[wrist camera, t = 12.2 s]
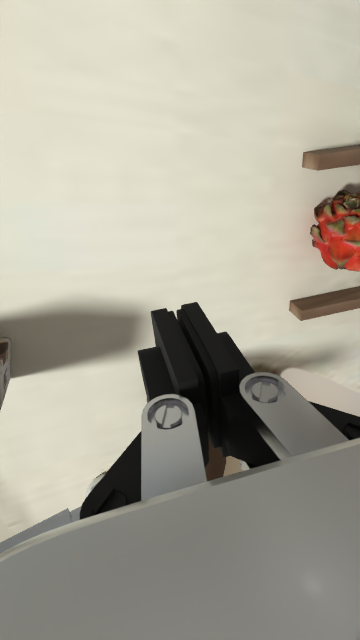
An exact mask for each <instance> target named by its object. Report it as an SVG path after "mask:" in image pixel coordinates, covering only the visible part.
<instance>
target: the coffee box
mask: <svg viewBox="0 0 360 640" xmlns="http://www.w3.org/2000/svg"><path fill="white" fill-rule="evenodd" d="M10 361H11V340H10V339H8V338H0V410H1V406H2V403H3V400H4V397H5V394H6V390H7V387H8V384H9V380H10Z"/></svg>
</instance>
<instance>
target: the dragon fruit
mask: <svg viewBox="0 0 360 640" xmlns="http://www.w3.org/2000/svg"><path fill="white" fill-rule="evenodd" d="M314 215H315V218H316V220H317V221H318V222H319V225H318V226H316V225H313V226H312V227H311V232H310V234H311V235H312V237H313V238H314V239H315V241H314V240H312V245H313V247H316V248H318V249H319V250H320V251H321V256H322V258H323V261H324V262H325V263H326V264H327V265H328V266H329V267H331V268H333V269H338V268H339V269H347V270H349V271H360V192H358V193H356V194H351V193H349V192H347V191H346V190H343V191H339V192H338V193H337V194H336V195H335V196H334V197H333V198H332V199H331V202H330V203H329V204H326V206H325V207H324V205H323V204H322V203H320V204H319V205H317V207H315V208H314Z"/></svg>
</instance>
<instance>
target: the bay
mask: <svg viewBox="0 0 360 640" xmlns="http://www.w3.org/2000/svg"><path fill="white" fill-rule="evenodd" d="M359 164H360V145H355V146H348V147H340V148H332V149H325V150H317V151H310V152H303V163H302V167H304V168H308V169H313V170H324V169H331V168H338V167H345V166H352V165H359ZM357 308H360V286H359V287H355V288H350V289H345V290H340V291H335V292H331V293H326V294H321V295H316V296H311V297H307V298H302V299H297V300H292V301H290V308H289V311H291V312H292V313H293V314H294V315H295V316H296V317H297V318H298V319H299V320H300V321H302V320H307V319H312V318H316V317H321V316H325V315H330V314H334V313H339V312H344V311H348V310H353V309H357Z"/></svg>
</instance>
